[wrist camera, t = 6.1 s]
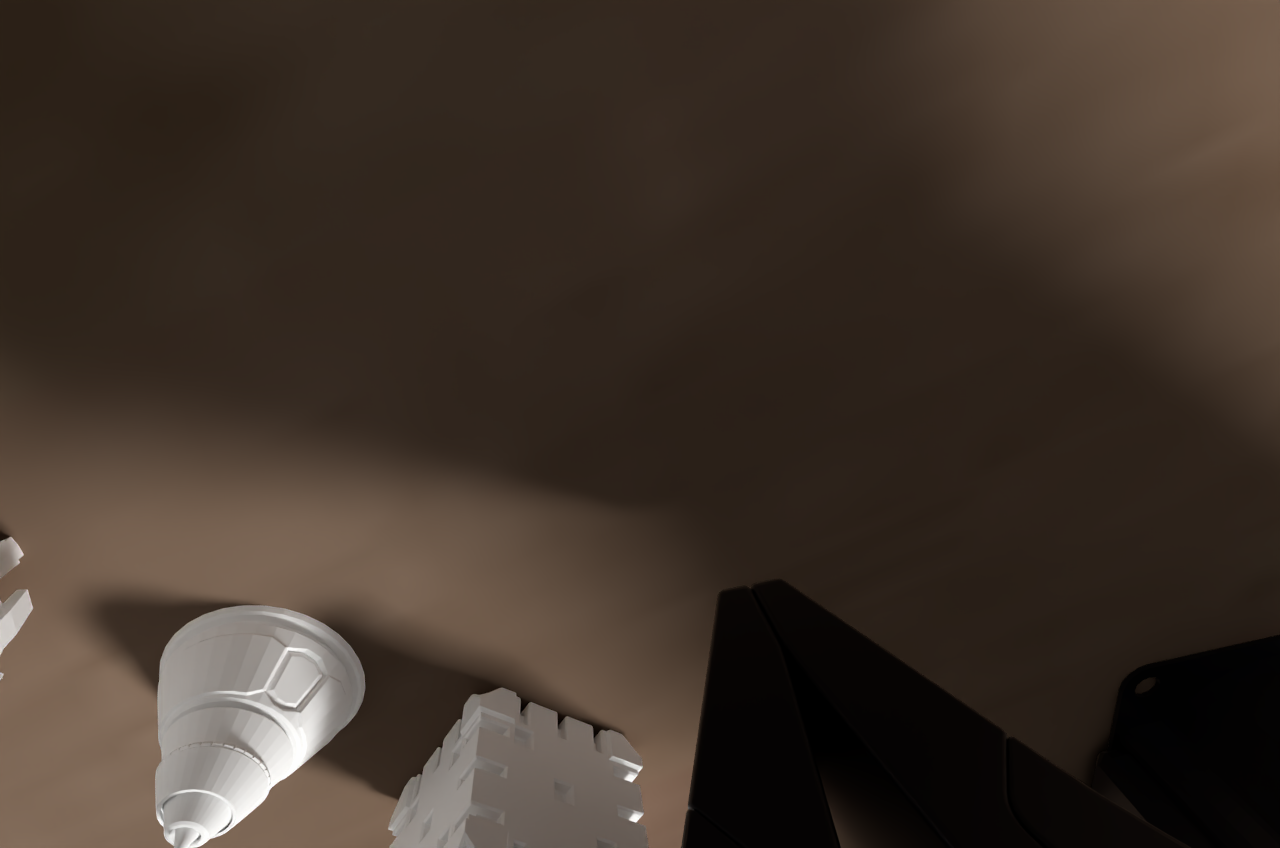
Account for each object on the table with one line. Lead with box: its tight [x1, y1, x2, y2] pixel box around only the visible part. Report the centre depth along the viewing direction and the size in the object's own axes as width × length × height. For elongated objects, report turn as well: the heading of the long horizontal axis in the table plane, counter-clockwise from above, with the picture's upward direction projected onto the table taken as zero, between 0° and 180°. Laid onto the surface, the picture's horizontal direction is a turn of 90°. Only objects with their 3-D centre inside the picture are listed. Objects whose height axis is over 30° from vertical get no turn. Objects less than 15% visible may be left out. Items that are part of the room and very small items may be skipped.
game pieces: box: [0, 537, 649, 848], centre depth 9 cm, size 12×3×3 cm, turn 56°
